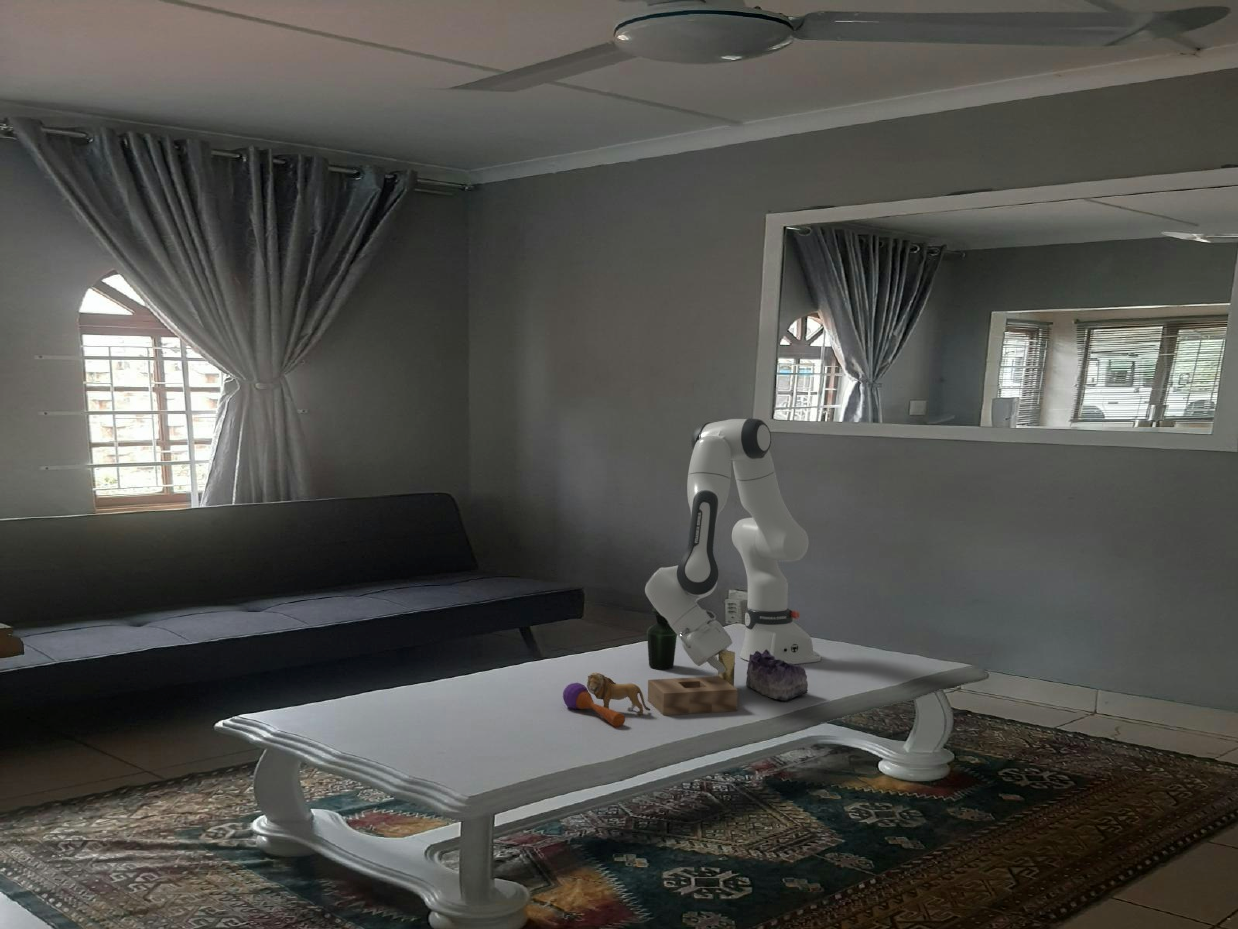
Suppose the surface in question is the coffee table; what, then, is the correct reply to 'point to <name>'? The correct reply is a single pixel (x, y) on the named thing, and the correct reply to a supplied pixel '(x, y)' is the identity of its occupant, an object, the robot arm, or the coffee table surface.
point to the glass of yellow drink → (727, 665)
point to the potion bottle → (661, 643)
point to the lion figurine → (615, 691)
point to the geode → (775, 677)
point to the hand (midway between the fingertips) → (728, 669)
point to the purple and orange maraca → (589, 703)
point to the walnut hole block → (692, 695)
